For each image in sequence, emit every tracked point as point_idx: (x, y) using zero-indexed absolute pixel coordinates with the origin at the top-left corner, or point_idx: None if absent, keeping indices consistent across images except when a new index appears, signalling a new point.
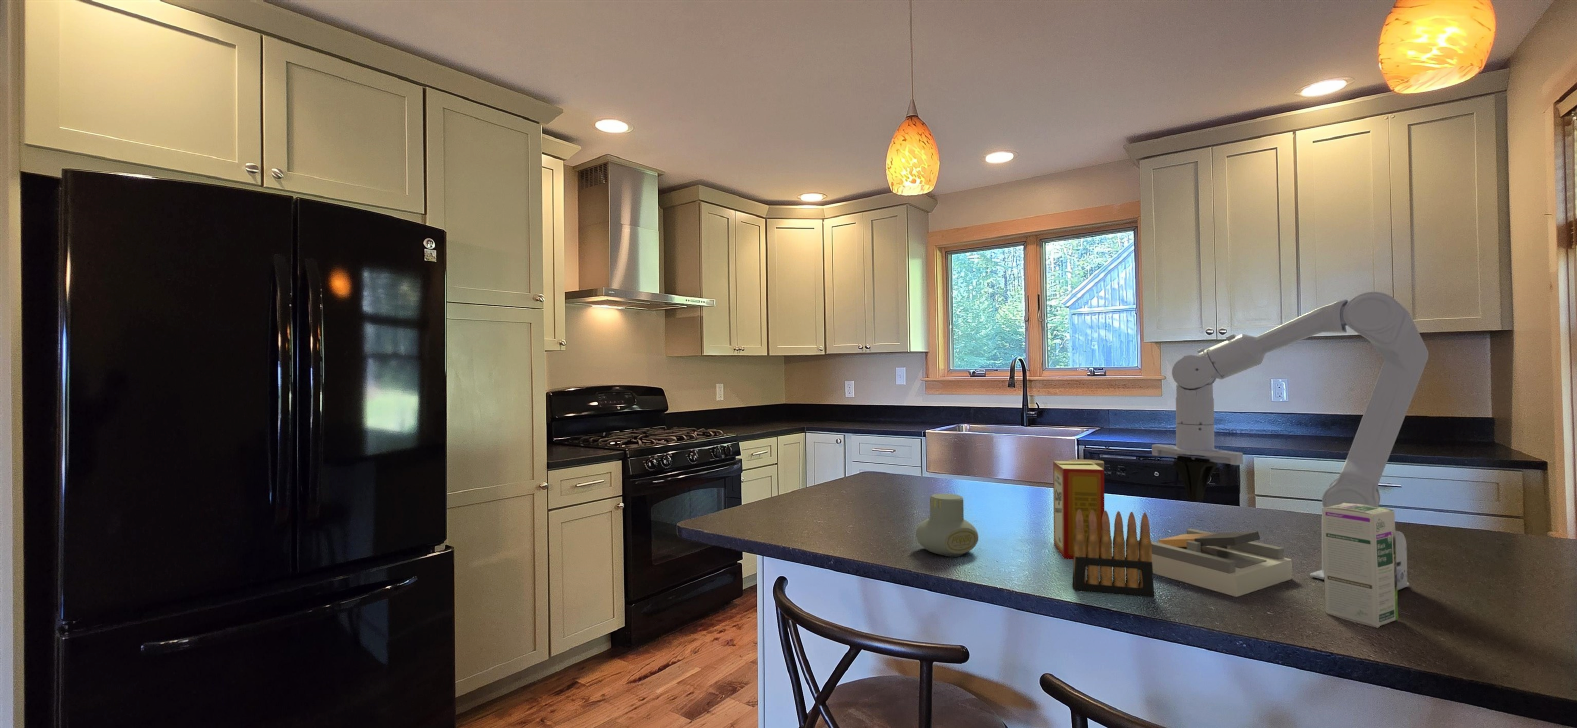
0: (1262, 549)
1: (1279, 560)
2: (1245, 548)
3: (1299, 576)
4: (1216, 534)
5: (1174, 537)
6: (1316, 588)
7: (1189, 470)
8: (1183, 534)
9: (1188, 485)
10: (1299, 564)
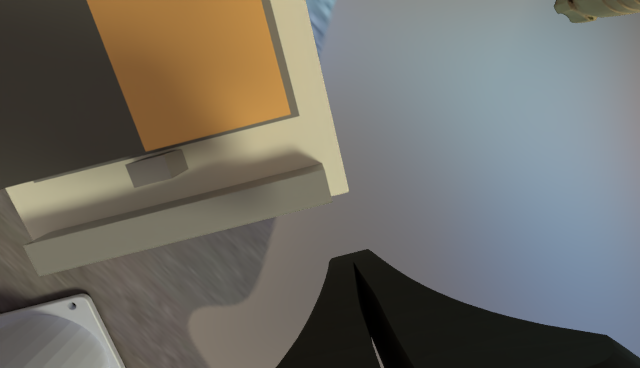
0: (78, 228)
1: (40, 225)
2: (135, 213)
3: (102, 276)
4: (100, 101)
5: (236, 14)
6: (8, 230)
7: (371, 362)
8: (286, 113)
9: (377, 285)
10: (188, 357)
